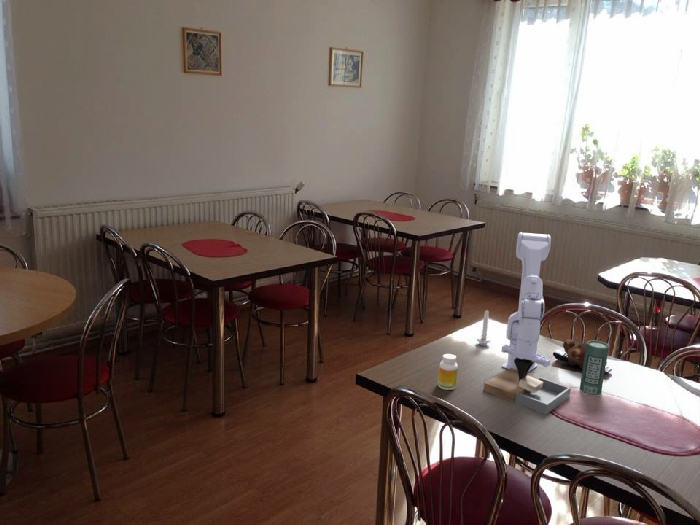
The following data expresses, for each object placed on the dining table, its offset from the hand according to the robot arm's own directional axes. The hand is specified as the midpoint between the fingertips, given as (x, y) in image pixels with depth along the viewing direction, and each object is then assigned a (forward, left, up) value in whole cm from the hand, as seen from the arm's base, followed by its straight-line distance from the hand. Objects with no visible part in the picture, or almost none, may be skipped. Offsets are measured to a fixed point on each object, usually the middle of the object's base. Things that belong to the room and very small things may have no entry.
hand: (521, 381), depth 184 cm
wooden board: (0, -3, -3) cm, 4 cm away
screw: (-23, -27, -3) cm, 36 cm away
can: (-17, +14, -3) cm, 22 cm away
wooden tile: (0, +3, -1) cm, 3 cm away
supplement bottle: (+14, -17, -3) cm, 22 cm away
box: (0, +7, -3) cm, 7 cm away
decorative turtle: (-32, +5, -3) cm, 33 cm away
